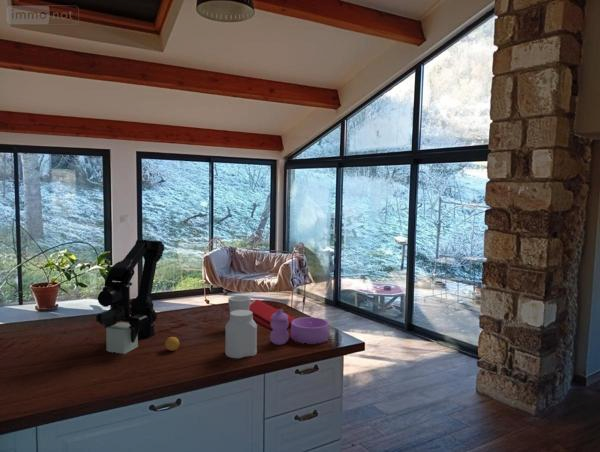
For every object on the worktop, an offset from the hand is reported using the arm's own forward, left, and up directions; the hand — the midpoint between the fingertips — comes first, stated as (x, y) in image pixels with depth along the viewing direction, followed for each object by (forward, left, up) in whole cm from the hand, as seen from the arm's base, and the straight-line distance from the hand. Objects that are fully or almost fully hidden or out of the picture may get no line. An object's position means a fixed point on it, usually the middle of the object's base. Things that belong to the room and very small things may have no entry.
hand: (122, 341), depth 168 cm
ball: (+18, +5, 0) cm, 19 cm away
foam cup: (+30, +38, -3) cm, 49 cm away
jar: (+43, +11, -3) cm, 44 cm away
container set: (+59, +32, -3) cm, 67 cm away
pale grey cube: (0, 0, -3) cm, 3 cm away
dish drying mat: (+34, +58, -4) cm, 68 cm away
